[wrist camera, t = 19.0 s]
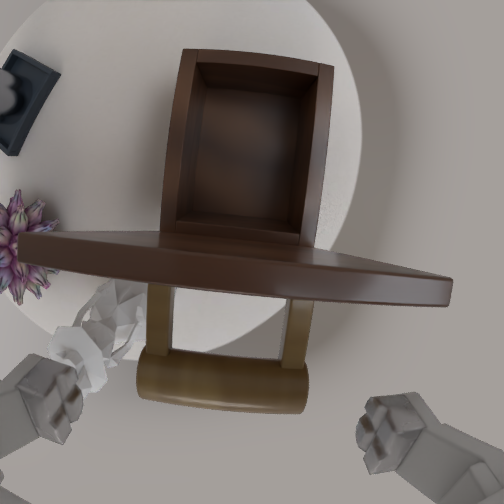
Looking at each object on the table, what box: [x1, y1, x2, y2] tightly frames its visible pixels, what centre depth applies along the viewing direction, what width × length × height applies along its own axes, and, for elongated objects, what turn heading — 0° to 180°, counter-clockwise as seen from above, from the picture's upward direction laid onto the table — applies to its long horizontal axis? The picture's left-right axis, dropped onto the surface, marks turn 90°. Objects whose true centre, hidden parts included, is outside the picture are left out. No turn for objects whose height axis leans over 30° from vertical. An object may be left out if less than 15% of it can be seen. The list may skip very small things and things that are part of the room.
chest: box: [160, 49, 334, 248], centre depth 24 cm, size 14×11×8 cm
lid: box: [17, 231, 453, 414], centre depth 14 cm, size 15×11×5 cm
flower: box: [0, 190, 59, 306], centre depth 24 cm, size 12×12×12 cm
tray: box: [0, 49, 61, 156], centre depth 24 cm, size 11×10×2 cm
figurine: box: [47, 278, 177, 399], centre depth 22 cm, size 7×8×18 cm
